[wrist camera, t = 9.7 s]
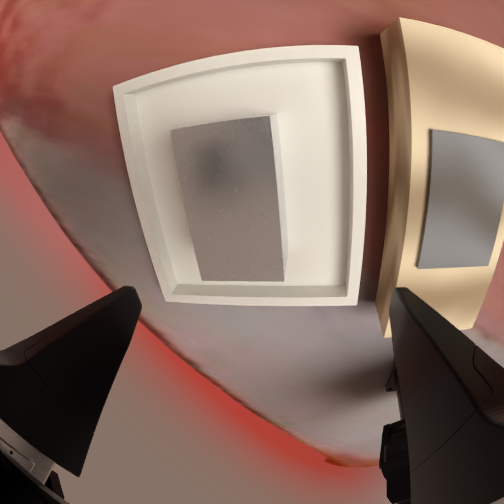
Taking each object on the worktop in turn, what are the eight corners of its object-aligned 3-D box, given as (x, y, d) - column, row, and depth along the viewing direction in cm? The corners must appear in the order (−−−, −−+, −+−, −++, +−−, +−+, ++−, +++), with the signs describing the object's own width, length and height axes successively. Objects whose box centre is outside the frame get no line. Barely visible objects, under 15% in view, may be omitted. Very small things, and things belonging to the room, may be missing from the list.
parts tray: (353, 288, 21) (356, 305, 19) (174, 287, 24) (165, 301, 22) (352, 52, 13) (358, 46, 11) (128, 86, 16) (112, 86, 14)
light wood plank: (455, 297, 19) (472, 330, 16) (375, 302, 21) (384, 340, 17) (479, 56, 10) (515, 52, 6) (379, 33, 11) (401, 15, 8)
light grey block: (288, 247, 19) (284, 281, 16) (219, 249, 20) (201, 280, 17) (277, 113, 15) (269, 115, 12) (197, 123, 16) (170, 130, 13)
